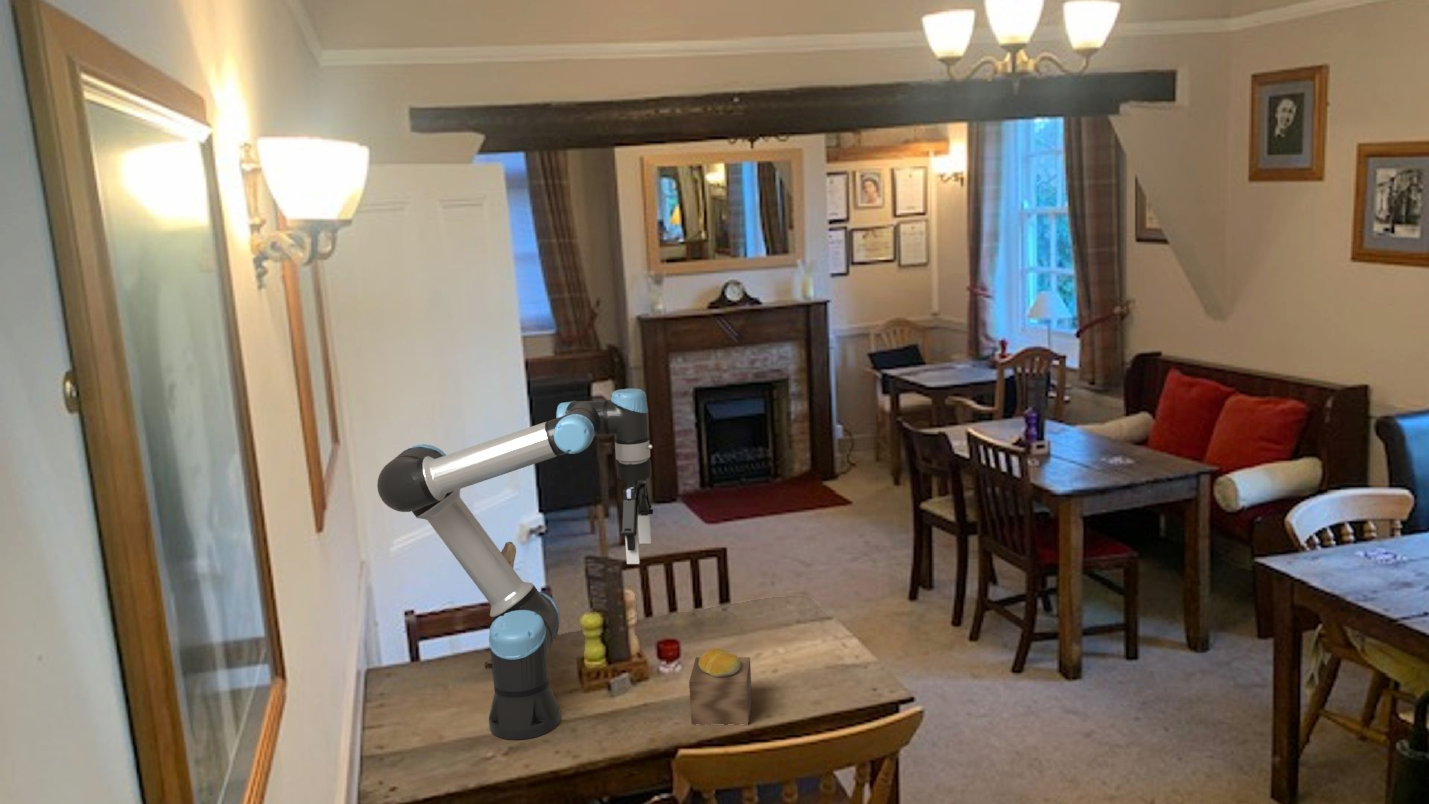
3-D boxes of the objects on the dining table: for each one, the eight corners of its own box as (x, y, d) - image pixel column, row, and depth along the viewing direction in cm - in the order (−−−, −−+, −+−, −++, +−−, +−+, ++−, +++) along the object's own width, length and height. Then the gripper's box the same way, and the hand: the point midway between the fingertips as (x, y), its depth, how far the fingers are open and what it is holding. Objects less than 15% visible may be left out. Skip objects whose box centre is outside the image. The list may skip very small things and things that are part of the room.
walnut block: (691, 725, 225) (689, 681, 223) (698, 699, 236) (695, 657, 234) (748, 726, 223) (746, 681, 221) (752, 699, 235) (750, 657, 233)
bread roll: (721, 682, 222) (720, 664, 221) (692, 669, 228) (691, 652, 228) (749, 669, 227) (748, 651, 227) (720, 657, 234) (719, 640, 233)
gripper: (639, 474, 219) (645, 572, 223) (660, 446, 243) (665, 535, 247) (603, 474, 220) (610, 572, 224) (628, 446, 244) (634, 535, 248)
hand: (639, 553), depth 235 cm, fingers open, 13 cm apart
